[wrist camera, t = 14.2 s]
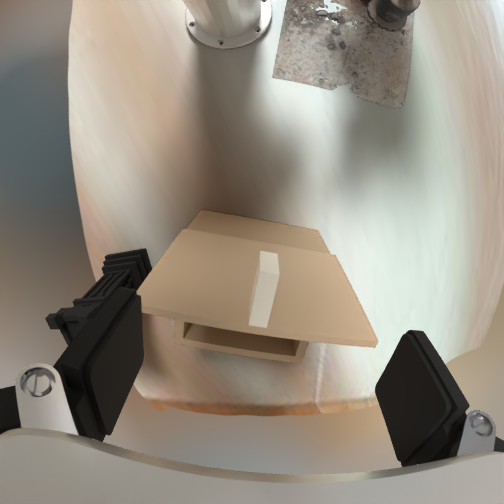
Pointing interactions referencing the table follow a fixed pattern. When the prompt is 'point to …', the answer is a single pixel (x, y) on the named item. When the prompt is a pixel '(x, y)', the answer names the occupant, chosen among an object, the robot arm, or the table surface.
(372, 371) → the table surface
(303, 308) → the lid flap
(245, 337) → the carton
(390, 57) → the valve
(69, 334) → the chess piece
